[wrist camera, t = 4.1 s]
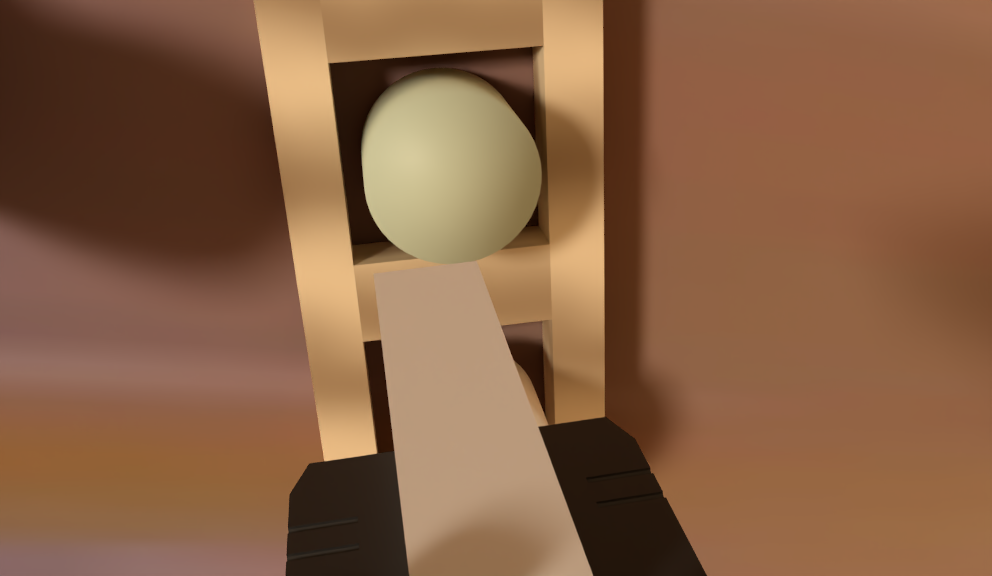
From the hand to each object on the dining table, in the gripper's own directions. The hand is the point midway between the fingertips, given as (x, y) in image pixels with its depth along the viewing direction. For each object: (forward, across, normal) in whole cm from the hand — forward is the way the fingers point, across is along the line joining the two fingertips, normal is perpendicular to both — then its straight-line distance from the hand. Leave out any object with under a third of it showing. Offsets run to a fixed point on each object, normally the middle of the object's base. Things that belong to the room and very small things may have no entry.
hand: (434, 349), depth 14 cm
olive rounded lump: (+20, +2, -3) cm, 20 cm away
